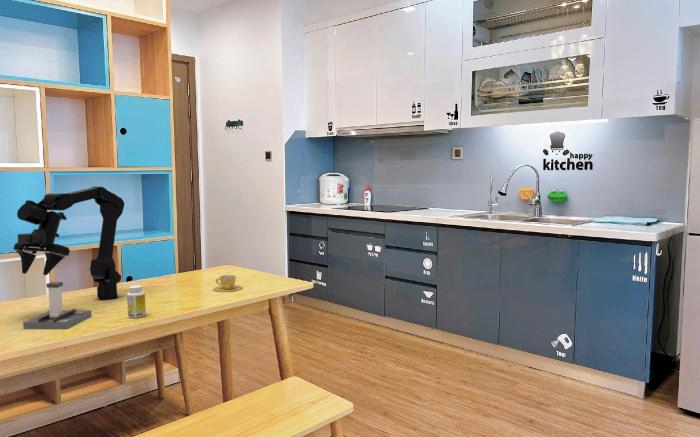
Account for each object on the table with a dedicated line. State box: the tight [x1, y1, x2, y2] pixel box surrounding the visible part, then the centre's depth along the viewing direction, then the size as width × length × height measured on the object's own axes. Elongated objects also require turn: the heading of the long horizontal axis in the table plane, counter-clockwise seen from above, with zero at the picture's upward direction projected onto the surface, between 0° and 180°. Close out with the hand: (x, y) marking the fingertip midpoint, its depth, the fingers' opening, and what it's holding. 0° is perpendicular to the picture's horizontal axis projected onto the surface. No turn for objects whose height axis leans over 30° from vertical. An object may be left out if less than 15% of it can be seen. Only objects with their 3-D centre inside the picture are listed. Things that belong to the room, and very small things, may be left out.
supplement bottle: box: [126, 284, 147, 319], centre depth 173 cm, size 6×6×10 cm
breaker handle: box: [46, 281, 64, 317], centre depth 165 cm, size 3×4×11 cm
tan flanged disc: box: [212, 274, 243, 293], centre depth 212 cm, size 12×12×5 cm
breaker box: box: [22, 308, 92, 330], centre depth 167 cm, size 14×14×3 cm
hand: (34, 274), depth 168 cm, fingers open, 9 cm apart
